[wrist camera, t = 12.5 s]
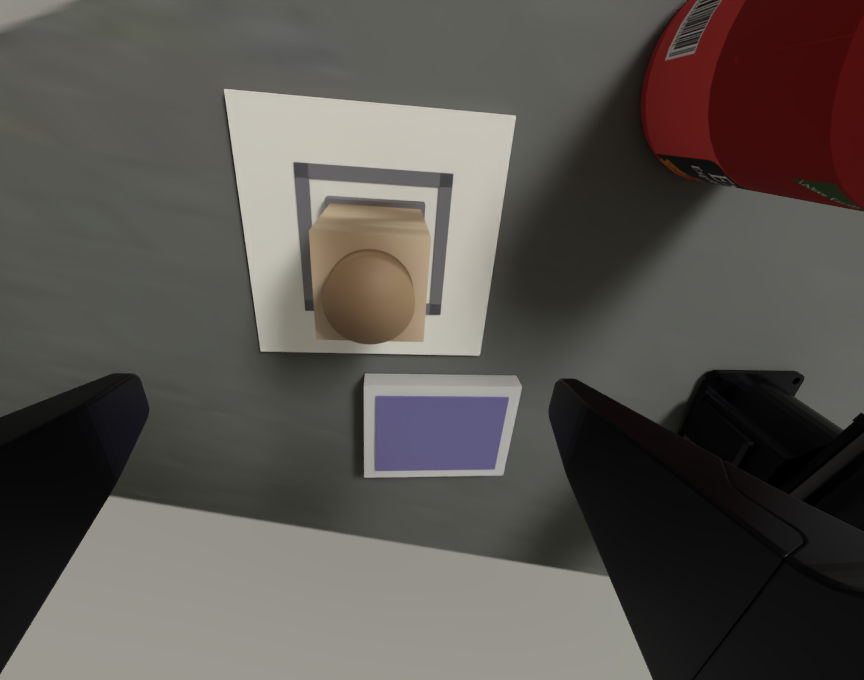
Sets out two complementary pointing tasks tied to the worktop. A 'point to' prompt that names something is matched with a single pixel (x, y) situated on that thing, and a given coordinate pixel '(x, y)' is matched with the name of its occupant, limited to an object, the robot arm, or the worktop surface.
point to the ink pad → (438, 424)
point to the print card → (367, 178)
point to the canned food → (762, 97)
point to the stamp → (370, 270)
